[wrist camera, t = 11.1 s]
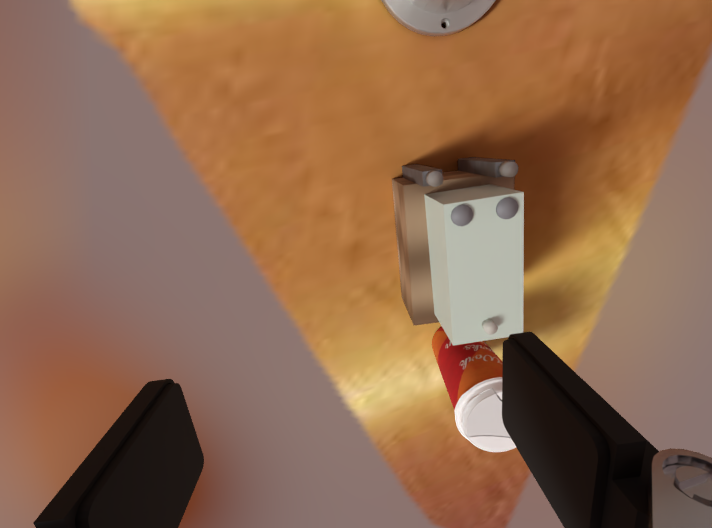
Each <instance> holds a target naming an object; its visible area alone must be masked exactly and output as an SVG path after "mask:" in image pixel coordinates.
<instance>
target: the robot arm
mask: <svg viewBox="0 0 712 528" xmlns="http://www.w3.org/2000/svg"><path fill="white" fill-rule="evenodd" d="M381 1H382V2H383V4H384V5H385V7H386V8H387V10H388V11H389V13H390V14H391V15H392V16H393V17H394V18H395V19H396V20H397V21H398V22H399V23H400V24H402V25H403V26H405V27H406V28H408V29H409V30H411V31H414V32H416V33H419V34H422V35H428V36H447V35H450V34H454V33H457V32H460V31H462V30H463V29H465V28H467V27H469V26H471V25H472V24H473V23H474V22H476V21H477V20H478V19H480V18H481V17H482V16H483V15H484V14H485V13H486V12H487V11H488V10H489V9H490V7H491V6H492V5H493V3H494V2H495V1H496V0H381ZM442 23H443V24H445V28H442V26H441V24H442ZM502 420H503V424H504V426H505V429H506V431H507V432H508V434H509V436H510V437H511V439H512V441H513V442H514V444H515V446H516V447H517V449H518V451H519V452H520V454H521V456H522V457H523V459H524V461H525V462H526V464H527V466H528V467H529V469H530V471H531V472H532V474H533V476H534V477H535V479H536V481H537V482H538V484H539V486H540V487H541V489H542V491H543V492H544V494H545V496H546V497H547V499H548V501H549V502H550V504H551V506H552V507H553V509H554V511H555V512H556V514H557V516H558V518H559V519H560V521H561V523H562V524H563V526H564V527H565V528H712V458H711V457H708V456H705V455H703V454H700V453H697V452H693V451H689V450H684V449H667V450H662V451H660V452H659V451H658V450H657V449H656V448H655V447H654V446H653V445H651V444H650V443H649V442H648V441H647V440H646V439H645V438H644V437H643V436H642V435H641V434H640V433H639V432H638V431H637V430H636V429H635V428H633V427H632V426H631V425H630V424H629V423H628V422H627V421H626V420H625V419H624V418H623V417H621V415H619V413H618V412H617V411H615V410H614V409H613V408H612V407H611V406H610V405H609V404H608V403H607V402H606V401H605V400H604V399H603V398H602V397H601V396H600V395H599V394H598V393H596V392H595V391H594V390H593V389H592V388H591V387H590V386H589V385H588V384H587V383H586V382H585V381H583V379H581V378H580V377H579V376H578V375H577V374H576V373H575V372H574V371H573V370H572V369H571V368H570V367H569V366H568V365H566V364H565V363H564V362H563V361H562V360H561V359H560V358H559V357H558V356H557V355H556V354H555V353H554V352H553V351H552V350H551V349H550V348H548V347H547V346H546V345H545V344H544V343H543V342H542V341H541V340H540V339H539V338H538V337H537V336H536V335H535V334H534V333H532V332H524V333H516V334H511V335H509V338H508V340H505V341H504V342H503V372H502ZM203 464H204V457H203V453H202V450H201V447H200V444H199V441H198V438H197V435H196V432H195V429H194V425H193V422H192V419H191V416H190V413H189V410H188V407H187V404H186V402H185V399H184V395H183V392H182V389H181V387H180V385H179V384H178V383H174V381H173V380H171V379H165V380H157V381H151V382H148V383H147V384H146V385H145V386H144V387H143V388H142V390H141V391H140V392H139V393H138V394H137V396H136V397H135V398H134V400H133V401H132V402H131V403H130V404H129V406H128V407H127V408H126V410H125V411H124V412H123V413H122V414H121V416H120V417H119V418H118V419H117V420H116V422H115V423H114V424H113V425H112V427H111V428H110V429H109V430H108V432H107V433H106V434H105V435H104V436H103V438H102V439H101V440H100V441H99V443H98V444H97V445H96V446H95V448H94V449H93V450H92V451H91V452H90V454H89V455H88V456H87V457H86V459H85V460H84V461H83V462H82V464H81V465H80V466H79V467H78V469H77V470H76V471H75V472H74V473H73V475H72V476H71V477H70V478H69V480H68V481H67V482H66V484H65V485H64V486H63V487H62V488H61V490H60V491H59V492H58V493H57V495H56V496H55V497H54V498H53V499H52V501H51V502H50V503H49V504H48V505H47V507H46V508H45V509H44V510H43V512H42V513H41V514H40V515H39V517H38V518H37V519H36V520H35V522H34V525H35V527H36V528H178V526H179V524H180V522H181V519H182V517H183V515H184V512H185V510H186V507H187V505H188V502H189V500H190V498H191V495H192V493H193V491H194V488H195V486H196V483H197V481H198V479H199V476H200V474H201V472H202V469H203Z"/></svg>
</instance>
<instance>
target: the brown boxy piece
mask: <svg viewBox="0 0 712 528" xmlns="http://www.w3.org/2000/svg"><path fill="white" fill-rule="evenodd" d="M402 171H403V178H395V179H392V186H393V198H394V210H395V222H396V233H397V245H398V257H399V269H400V281H401V293H402V299H403V301H404V304H405V306H406V308H407V311H408V313H409V315H410V318H411V320H412V322H413V325H421V324H429V323H436V322H439V321H438V319H437V317H436V316H435V314H434V302H433V290H432V279H431V267H430V255H429V243H428V232H427V220H426V208H425V196H424V194H430V193H437V192H443V191H450V190H456V189H462V188H469V187H475V186H482V185H488V184H492V185H496V186H500V187H505V188H509V189H513V190H514V179H515V175H516V174H517V172H518V165H517V164H516V163H515V160H506V159H492V158H477V157H470V158H462V159H458V171H451V172H443V173H442V169H438V168H433V167H428V166H423V165H419V164H414V165H406V166H402Z"/></svg>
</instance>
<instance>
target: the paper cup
mask: <svg viewBox="0 0 712 528" xmlns="http://www.w3.org/2000/svg"><path fill="white" fill-rule="evenodd" d="M432 347H433V351H434V354H435V357H436V360H437V363H438V366H439V369H440V371H441V374H442V377H443V380H444V382H445V385H446V388H447V391H448V393H449V396H450V399H451V402H452V404H453V407H454V411H455V421H456V425H457V428H458V430H459V431H460V433H461V434H462V435H463V436H464V437H465V438H466V439H468V440H469V441H470V442H471V443H472V444H473V445H475V446H476V447H478V448H480V449H482V450H485V451H489V452H503V451H508V450H511V449H514V448H516V446H515V444H514V442H513V441H512V439H511V437H510V436H509V434H508V432H507V431H506V429H505V426H504V424H503V420H502V372H503V362H502V361H501V360H500V358H499V357H498V356H497V355H496V354H495V353H494V352H493V351H492V350H491V349H490V347H489V346H488V345H487V344H486V343H485V342H484V341H479V342H473V343H467V344H460V345H454V346H453V345H452V343H451V341H450V340H449V338H448V336H447V334H446V333H445V331H444V329H443V328H442V326H441V327H440V328H439V329H438V330H437V331H436V333H435V334H434V336H433V340H432Z"/></svg>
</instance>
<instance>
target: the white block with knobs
mask: <svg viewBox="0 0 712 528" xmlns="http://www.w3.org/2000/svg"><path fill="white" fill-rule="evenodd" d="M424 196H425V208H426V220H427V232H428V243H429V255H430V267H431V279H432V290H433V302H434V314H435V316H436V317H437V319H438V321H439V322H440V324H441V326H442V328H443V329H444V331H445V333H446V334H447V336H448V338H449V340H450V341H451V343H452V345H453V346H454V345H460V344H467V343H473V342H479V341H486V340H492V339H499V338H505V337H509V335H511V334H516V333H523V280H524V192H521V191H517V190H513V189H509V188H505V187H500V186H496V185H492V184H488V185H482V186H475V187H469V188H462V189H456V190H450V191H443V192H437V193H430V194H424Z"/></svg>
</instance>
